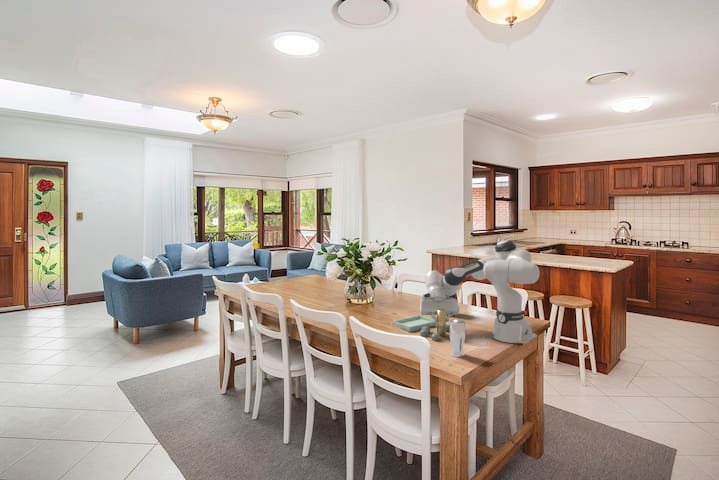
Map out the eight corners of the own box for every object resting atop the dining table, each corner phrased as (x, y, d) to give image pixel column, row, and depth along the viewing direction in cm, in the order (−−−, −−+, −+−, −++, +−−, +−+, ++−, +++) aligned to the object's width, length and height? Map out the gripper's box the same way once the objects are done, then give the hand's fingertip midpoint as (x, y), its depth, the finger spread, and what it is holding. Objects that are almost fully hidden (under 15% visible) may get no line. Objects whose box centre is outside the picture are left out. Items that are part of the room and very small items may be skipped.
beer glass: (464, 358, 163) (464, 324, 162) (447, 356, 166) (448, 322, 164) (466, 352, 170) (466, 320, 168) (450, 350, 172) (450, 318, 171)
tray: (419, 319, 221) (419, 315, 221) (436, 325, 209) (436, 320, 209) (392, 325, 210) (392, 320, 210) (409, 332, 198) (409, 327, 198)
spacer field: (440, 326, 207) (440, 322, 207) (471, 337, 189) (471, 332, 189) (414, 333, 196) (414, 328, 196) (444, 345, 179) (445, 340, 179)
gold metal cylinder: (441, 333, 196) (441, 308, 195) (447, 335, 192) (448, 310, 191) (435, 335, 194) (435, 310, 193) (441, 337, 190) (441, 311, 189)
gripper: (454, 300, 204) (460, 324, 195) (417, 301, 202) (421, 325, 194) (457, 294, 199) (463, 318, 190) (419, 295, 198) (423, 318, 189)
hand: (441, 321), depth 192 cm, fingers closed on gold metal cylinder, 4 cm apart
